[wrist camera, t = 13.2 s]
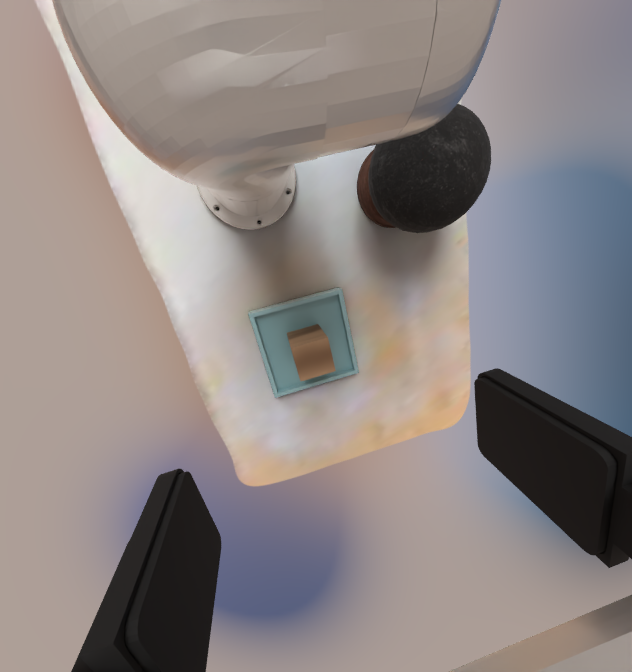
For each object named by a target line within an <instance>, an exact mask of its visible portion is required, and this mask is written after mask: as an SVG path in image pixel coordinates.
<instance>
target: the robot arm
mask: <svg viewBox="0 0 632 672" xmlns="http://www.w3.org/2000/svg"><path fill="white" fill-rule="evenodd" d="M52 1H53V5H54V9H55V13H56V16H57V19H58V22H59V24H60V27H61V30H62V33H63V36H64V38H65V41H66V43H67V45H68V47H69V49H70V51H71V53H72V56H73V58H74V60H75V62H76V64H77V66H78V68H79V70H80V72H81V74H82V75H83V77H84V79H85V81H86V83H87V84H88V86H89V88H90V89H91V91H92V92H93V94H94V95H95V97H96V99H97V100H98V102H99V103H100V105H101V106H102V107H103V109H104V110H105V111H106V113H107V114H108V115H109V117H110V118H111V120H112V121H113V122H114V123H115V125H116V126H117V127H118V128H119V129H120V130H121V132H122V133H123V134H124V135H125V136H126V137H127V139H128V140H129V141H130V142H131V143H132V144H133V145H134V146H135V147H136V148H137V149H138V150H139V151H141V152H142V153H143V154H144V155H145V156H146V157H148V158H149V159H150V160H151V161H152V162H154V163H155V164H156V165H158V166H159V167H161V168H162V169H163V170H165V171H167V172H168V173H170V174H172V175H173V176H175V177H177V178H179V179H181V180H183V181H186V182H189V183H191V184H194V185H197V188H198V190H199V192H200V195H201V197H202V199H203V200H204V202H205V204H206V205H207V207H208V208H209V209H210V210H211V211H212V212H213V213H214V214H215V215H216V216H217V217H218V218H219V219H221V220H222V221H224V222H225V223H227V224H229V225H231V226H234V227H236V228H241V229H251V230H255V229H260V228H264V227H267V226H269V225H271V224H273V223H274V222H276V221H277V220H279V219H280V218H281V217H282V216H283V215H284V213H285V212H286V211H287V209H288V208H289V206H290V204H291V202H292V199H293V196H294V193H295V186H296V172H295V167H294V164H295V163H300V162H305V161H309V160H314V159H317V158H318V157H322V156H326V155H331V154H335V153H340V152H344V151H349V150H353V149H358V148H362V147H367V146H371V145H376V144H380V143H385V142H388V141H392V140H396V139H400V138H404V137H407V136H411V135H414V134H417V133H419V132H422V131H424V130H427V129H428V128H430V127H432V126H434V125H435V124H437V123H438V122H440V121H441V120H442V119H443V118H445V117H446V116H447V115H448V114H449V113H450V112H451V111H452V110H453V108H454V107H455V106H456V105H457V104H458V102H459V101H460V100H461V98H462V97H463V95H464V94H465V92H466V91H467V89H468V87H469V85H470V83H471V82H472V80H473V78H474V76H475V74H476V72H477V70H478V67H479V65H480V63H481V60H482V58H483V55H484V53H485V50H486V48H487V45H488V42H489V39H490V36H491V33H492V30H493V27H494V24H495V20H496V17H497V14H498V11H499V7H500V3H501V0H52ZM286 191H289V192H290V194H289V195H288V194H287V193H286ZM216 207H219V208H220V210H219V211H217V210H216ZM258 220H260V221H261V224H258V223H257V222H258ZM475 402H476V421H477V439H478V447H479V450H480V452H481V453H482V454H483V456H484V457H485V458H486V459H487V460H488V461H490V462H491V463H492V464H493V465H494V466H495V467H496V468H497V469H498V470H499V471H500V472H501V473H502V474H503V475H504V476H506V477H507V478H508V479H509V480H510V481H511V482H512V483H513V484H514V485H515V486H516V487H517V488H518V489H519V490H520V491H522V493H524V494H525V495H526V496H527V497H528V498H529V499H530V500H531V501H532V502H533V503H534V504H535V505H536V506H537V507H538V508H540V509H541V510H542V511H543V512H544V513H545V514H546V515H547V516H548V517H549V518H550V519H551V520H552V521H553V522H554V523H555V524H556V525H557V526H559V527H560V528H561V529H562V530H563V531H564V532H565V533H566V534H567V535H568V536H569V537H570V538H571V539H573V541H575V542H576V543H577V544H578V545H579V546H580V547H581V548H582V549H583V550H584V551H586V552H587V553H589V554H590V555H596V556H597V557H598V558H599V559H600V560H601V561H602V562H603V563H604V564H606V565H607V566H608V567H609V568H610V567H612V566H615V565H618V564H620V563H623V562H625V561H627V560H628V559H629V557H630V558H631V559H632V437H630V436H628V435H626V434H624V433H623V432H621V431H619V430H617V429H615V428H613V427H611V426H609V425H607V424H605V423H603V422H601V421H599V420H597V419H595V418H594V417H592V416H590V415H588V414H586V413H584V412H582V411H580V410H578V409H576V408H574V407H572V406H570V405H568V404H567V403H564V402H563V401H561V400H559V399H557V398H555V397H553V396H551V395H549V394H547V393H545V392H543V391H541V390H539V389H538V388H536V387H534V386H532V385H530V384H528V383H526V382H524V381H522V380H520V379H518V378H516V377H514V376H512V375H510V374H509V373H507V372H504V371H503V370H501V369H493V370H490V371H487V372H483V373H480V374H479V375H478V379H477V380H475ZM220 553H221V537H220V534H219V532H218V529H217V527H216V525H215V523H214V521H213V519H212V517H211V515H210V513H209V511H208V509H207V507H206V505H205V502H204V500H203V498H202V496H201V494H200V492H199V490H198V488H197V486H196V484H195V482H194V480H193V478H192V476H191V474H190V473H189V472H184V471H183V470H182V469H177V470H174V471H170V472H167V473H164V474H161V475H159V476H158V478H157V480H156V482H155V484H154V487H153V489H152V491H151V494H150V496H149V498H148V500H147V503H146V505H145V507H144V510H143V512H142V515H141V516H140V519H139V521H138V524H137V526H136V528H135V530H134V532H133V535H132V537H131V539H130V541H129V542H128V544H127V546H126V549H125V551H124V553H123V556H122V558H121V560H120V562H119V565H118V567H117V569H116V571H115V574H114V576H113V578H112V581H111V583H110V585H109V587H108V590H107V592H106V594H105V596H104V599H103V601H102V603H101V605H100V608H99V610H98V612H97V615H96V617H95V619H94V622H93V624H92V626H91V628H90V631H89V633H88V635H87V637H86V640H85V642H84V644H83V646H82V649H81V651H80V653H79V655H78V658H77V660H76V662H75V665H74V667H73V669H72V671H71V672H206V664H207V656H208V648H209V640H210V632H211V624H212V615H213V608H214V600H215V593H216V584H217V577H218V569H219V561H220ZM450 672H632V595H630V596H628V597H626V598H623V599H621V600H618V601H616V602H614V603H611V604H609V605H606V606H604V607H602V608H599V609H597V610H594V611H592V612H590V613H587V614H585V615H582V616H580V617H578V618H575V619H573V620H570V621H568V622H565V623H563V624H561V625H558V626H556V627H554V628H551V629H549V630H547V631H544V632H542V633H539V634H537V635H534V636H532V637H530V638H527V639H525V640H522V641H520V642H518V643H515V644H513V645H511V646H508V647H506V648H504V649H501V650H499V651H497V652H494V653H492V654H489V655H487V656H485V657H482V658H480V659H478V660H475V661H473V662H471V663H468V664H466V665H463V666H461V667H459V668H457V669H454V670H452V671H450Z"/></svg>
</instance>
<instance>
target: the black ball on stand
mask: <svg viewBox="0 0 632 672" xmlns="http://www.w3.org/2000/svg"><path fill="white" fill-rule="evenodd" d="M490 164H491V146H490V141H489V137H488V135H487V132H486V130H485V127H484V125H483V124H482V122H481V121H480V119H479V118H478V117H477V116H476V115H475V114H474V113H473V112H472V111H471V110H469V109H467V108H466V107H464V106H462V105H459V104H457V105H456V106H455V107H454V108H453V110H452V111H451V112H450V113H449V114H448V115H447V116H446V117H445V118H443V119H442V120H441V121H440V122H438V123H437V124H435V125H434V126H432V127H430V128H428V129H427V130H424V131H422V132H419V133H417V134H414V135H411V136H407V137H404V138H400V139H396V140H392V141H388V142H385V143H380V144H376V146H375V149H374V150H373V151H372V152H371V153H370V154H369V155H368V156H367V157H366V159H365V161H364V162H363V164H362V166H361V169H360V171H359V174H358V180H357V194H358V199H359V202H360V205H361V208H362V209H363V211H364V213H365V214H366V215H367V216H368V217H369V219H370V220H372V221H373V222H374V223H376V224H378V225H380V226H382V227H387V228H399V229H401V230H403V231H409V232H415V233H423V232H430V231H434V230H437V229H441V228H444V227H446V226H447V225H449V224H451V223H453V222H454V221H456V220H457V219H459V218H460V217H461V216H462V215H464V214H465V213H466V212H467V211H468V210H469V208H471V206H472V205H473V204H474V203H475V201H476V200H477V198H478V196H479V195H480V194H481V192H482V190H483V188H484V186H485V183H486V181H487V178H488V174H489V171H490Z"/></svg>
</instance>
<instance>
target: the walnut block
mask: <svg viewBox="0 0 632 672" xmlns="http://www.w3.org/2000/svg"><path fill="white" fill-rule="evenodd" d="M287 337H288V340H289V344H290V347H291V351H292V354H293V358H294V361H295V365H296V368H297V371H298V375H299V378H300V381H304V380H308V379H311V378H314V377H318V376H321V375H324V374H328V373H331V372H334V371H336V370H335V366H334V361H333V357H332V353H331V348H330V344H329V340H328V337H327V336H326V334H325V333H324V332H323V330H322V329H321V327H320V326H319V325H318V324H316V325H313V326H309V327H305V328H302V329H298V330H295V331H291V332H288V333H287Z"/></svg>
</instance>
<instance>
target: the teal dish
mask: <svg viewBox="0 0 632 672" xmlns="http://www.w3.org/2000/svg"><path fill="white" fill-rule="evenodd" d="M248 315H249V318H250V321H251V324H252V327H253V330H254V333H255V336H256V340H257V343H258V346H259V349H260V352H261V355H262V358H263V361H264V364H265V368H266V371H267V374H268V377H269V380H270V383H271V386H272V389H273V393H274V396H275V398H277V397H280V396H283V395H287V394H290V393H293V392H297V391H300V390H303V389H306V388H310V387H313V386H316V385H320V384H323V383H326V382H330V381H333V380H336V379H340V378H343V377H346V376H350V375H353V374H356V373H359V371H358V366H357V361H356V356H355V351H354V346H353V341H352V336H351V331H350V326H349V321H348V316H347V312H346V307H345V302H344V297H343V292H342V289H341V288H339V287H338V288H334V289H330V290H326V291H323V292H319V293H315V294H312V295H308V296H304V297H300V298H297V299H293V300H289V301H286V302H282V303H278V304H274V305H271V306H267V307H263V308H260V309H256V310H252V311H249V314H248ZM316 324H318V325H319V326H320V327H321V329H322V330H323V332H324V333H325V334H326V336H327V337H328V340H329V344H330V348H331V353H332V357H333V361H334V366H335V370H336V371H334V372H331V373H328V374H324V375H321V376H318V377H314V378H311V379H308V380H304V381H300V378H299V375H298V371H297V368H296V365H295V361H294V358H293V354H292V351H291V347H290V344H289V340H288V337H287V333H288V332H291V331H295V330H298V329H302V328H305V327H309V326H313V325H316Z"/></svg>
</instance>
